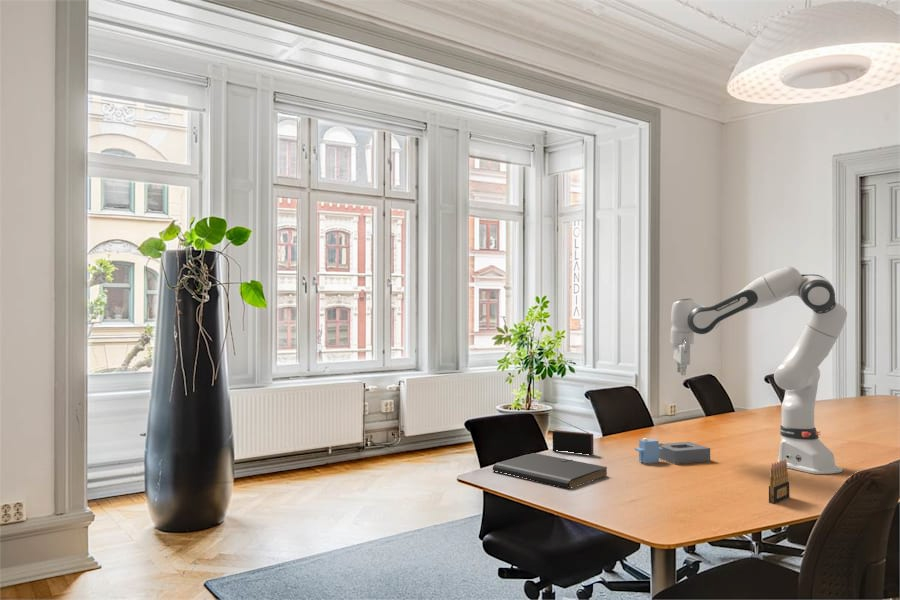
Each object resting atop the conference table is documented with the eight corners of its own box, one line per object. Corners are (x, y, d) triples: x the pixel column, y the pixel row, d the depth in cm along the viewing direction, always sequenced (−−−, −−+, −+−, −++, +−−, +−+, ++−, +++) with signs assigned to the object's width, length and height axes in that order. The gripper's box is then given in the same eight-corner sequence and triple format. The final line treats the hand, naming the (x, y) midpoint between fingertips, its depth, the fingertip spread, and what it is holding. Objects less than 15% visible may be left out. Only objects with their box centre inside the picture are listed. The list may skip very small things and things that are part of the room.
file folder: (607, 465, 235) (567, 479, 218) (607, 477, 235) (568, 492, 218) (533, 451, 259) (492, 463, 242) (533, 462, 259) (492, 474, 242)
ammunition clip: (783, 496, 210) (783, 458, 210) (789, 497, 208) (789, 459, 208) (768, 502, 203) (768, 463, 203) (774, 504, 201) (774, 464, 201)
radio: (593, 454, 270) (593, 417, 270) (591, 456, 267) (591, 418, 267) (550, 449, 279) (550, 414, 279) (548, 451, 276) (547, 415, 277)
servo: (667, 461, 256) (667, 438, 256) (640, 464, 253) (640, 440, 253) (661, 459, 260) (660, 436, 260) (634, 461, 257) (634, 438, 257)
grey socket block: (710, 461, 257) (710, 448, 257) (674, 464, 252) (674, 451, 252) (688, 454, 269) (688, 441, 269) (654, 456, 265) (654, 444, 265)
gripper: (694, 341, 255) (693, 377, 255) (686, 337, 275) (685, 371, 275) (677, 340, 256) (676, 376, 256) (670, 337, 276) (669, 370, 276)
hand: (681, 373), depth 266 cm, fingers open, 8 cm apart
